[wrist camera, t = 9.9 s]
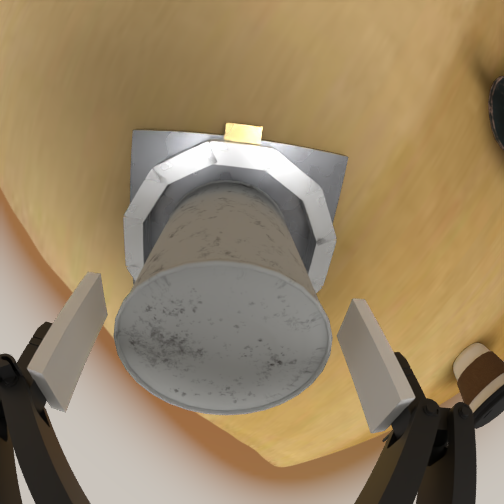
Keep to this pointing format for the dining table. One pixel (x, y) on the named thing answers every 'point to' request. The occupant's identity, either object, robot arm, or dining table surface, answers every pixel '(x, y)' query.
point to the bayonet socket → (237, 169)
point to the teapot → (497, 110)
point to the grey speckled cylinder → (224, 307)
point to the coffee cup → (480, 382)
